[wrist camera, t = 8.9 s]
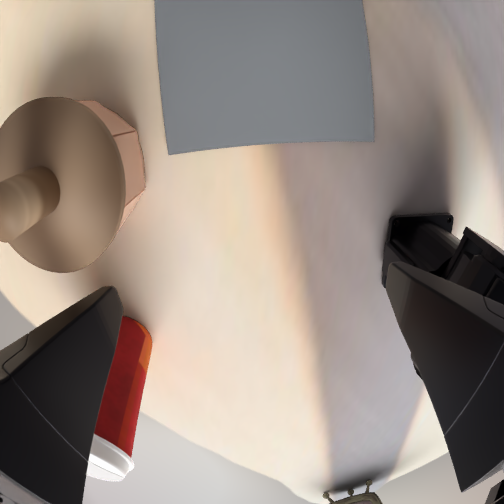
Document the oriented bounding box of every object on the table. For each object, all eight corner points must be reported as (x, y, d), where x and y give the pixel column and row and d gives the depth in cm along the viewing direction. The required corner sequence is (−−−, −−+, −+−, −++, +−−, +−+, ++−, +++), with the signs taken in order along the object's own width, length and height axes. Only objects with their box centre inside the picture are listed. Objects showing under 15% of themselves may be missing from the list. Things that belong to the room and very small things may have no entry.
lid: (110, 72, 12) (63, 62, 8) (144, 259, 17) (117, 307, 13) (-17, 129, 12) (-65, 143, 8) (20, 271, 17) (-15, 307, 13)
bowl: (134, 90, 17) (103, 85, 12) (155, 224, 21) (134, 255, 17) (28, 126, 17) (-12, 135, 12) (53, 238, 21) (21, 266, 17)
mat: (352, -30, 13) (355, -33, 12) (370, 140, 19) (374, 141, 18) (156, -23, 13) (154, -26, 12) (170, 153, 19) (168, 155, 18)
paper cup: (77, 318, 25) (14, 430, 13) (132, 295, 24) (70, 434, 11) (122, 370, 28) (87, 481, 16) (178, 355, 27) (154, 487, 15)
